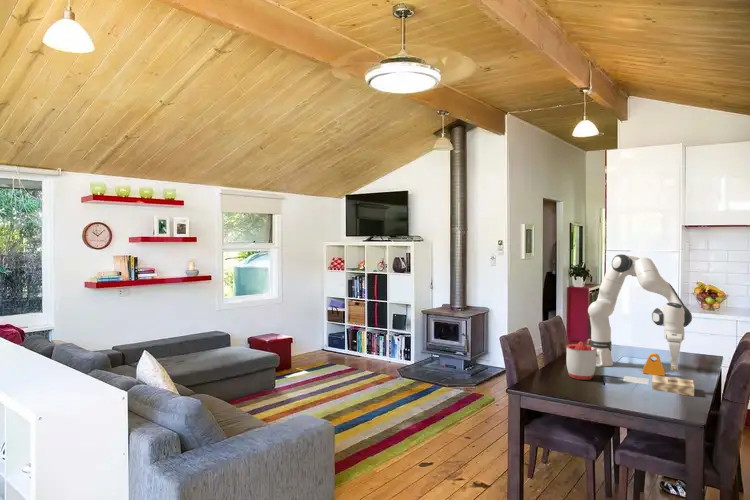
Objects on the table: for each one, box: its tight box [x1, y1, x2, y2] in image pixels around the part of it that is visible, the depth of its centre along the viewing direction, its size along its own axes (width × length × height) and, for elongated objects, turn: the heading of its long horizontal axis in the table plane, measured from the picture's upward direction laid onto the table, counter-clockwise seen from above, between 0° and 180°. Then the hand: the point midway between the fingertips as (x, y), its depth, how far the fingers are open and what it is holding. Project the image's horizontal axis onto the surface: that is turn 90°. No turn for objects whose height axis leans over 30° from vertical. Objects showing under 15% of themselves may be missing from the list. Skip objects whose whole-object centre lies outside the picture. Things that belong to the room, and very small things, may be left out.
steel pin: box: [670, 356, 679, 372], centre depth 258 cm, size 3×3×9 cm
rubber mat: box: [622, 375, 650, 385], centre depth 275 cm, size 12×12×1 cm
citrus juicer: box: [565, 341, 599, 381], centre depth 281 cm, size 16×17×20 cm
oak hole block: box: [651, 375, 695, 397], centre depth 259 cm, size 18×14×4 cm
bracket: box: [642, 352, 666, 377], centre depth 288 cm, size 11×7×12 cm, turn 59°
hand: (674, 362), depth 258 cm, fingers closed on steel pin, 3 cm apart
